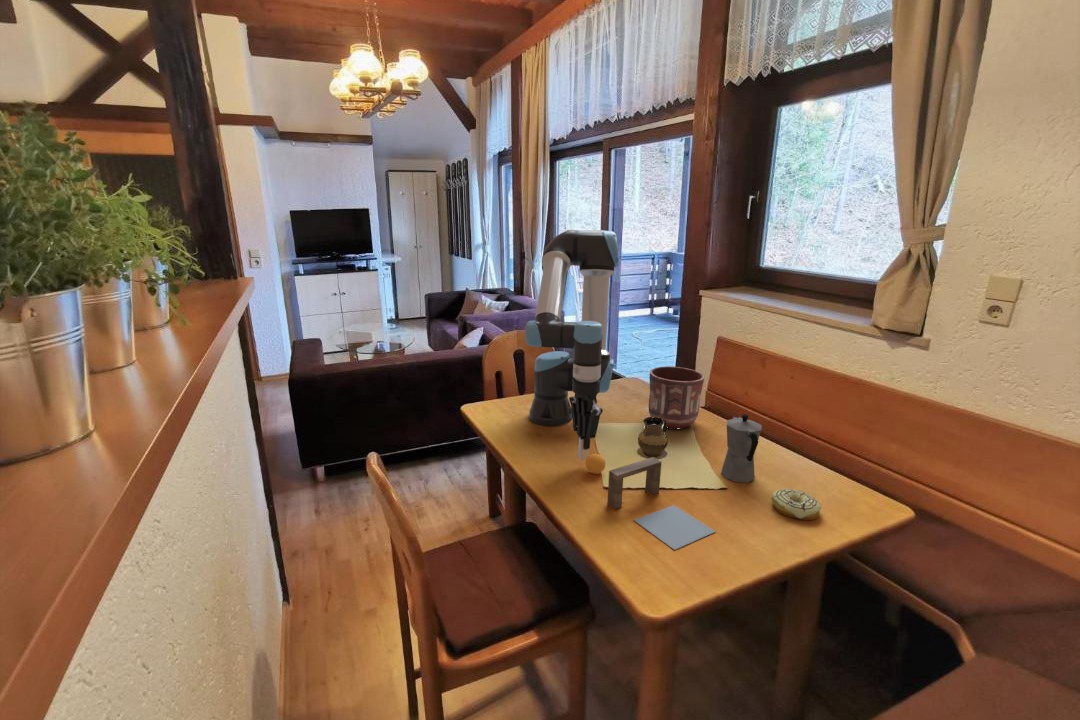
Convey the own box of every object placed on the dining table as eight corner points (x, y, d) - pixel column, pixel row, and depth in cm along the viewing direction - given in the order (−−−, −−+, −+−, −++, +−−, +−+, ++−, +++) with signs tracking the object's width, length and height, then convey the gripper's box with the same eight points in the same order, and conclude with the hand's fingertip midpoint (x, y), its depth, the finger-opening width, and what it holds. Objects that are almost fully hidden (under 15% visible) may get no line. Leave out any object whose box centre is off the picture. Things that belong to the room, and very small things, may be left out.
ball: (581, 470, 147) (581, 453, 145) (596, 466, 149) (597, 448, 148) (593, 479, 142) (594, 460, 141) (609, 474, 145) (610, 456, 143)
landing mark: (633, 520, 123) (634, 520, 123) (673, 505, 130) (673, 504, 130) (674, 550, 113) (674, 549, 113) (715, 532, 119) (715, 531, 119)
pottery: (658, 435, 171) (663, 382, 166) (638, 415, 187) (642, 367, 182) (708, 431, 174) (714, 380, 169) (683, 412, 191) (688, 365, 186)
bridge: (607, 503, 130) (609, 470, 128) (650, 488, 138) (653, 457, 135) (615, 509, 128) (617, 475, 125) (658, 494, 135) (661, 461, 133)
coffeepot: (713, 463, 152) (719, 405, 147) (745, 464, 152) (753, 406, 147) (731, 490, 137) (739, 427, 132) (767, 491, 137) (776, 427, 132)
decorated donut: (803, 528, 122) (806, 513, 121) (762, 507, 130) (764, 493, 129) (827, 514, 127) (829, 500, 126) (786, 494, 136) (788, 481, 135)
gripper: (561, 374, 146) (559, 452, 152) (589, 386, 135) (585, 470, 141) (584, 370, 150) (581, 447, 156) (612, 382, 139) (607, 464, 145)
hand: (583, 458), depth 149 cm, fingers closed
